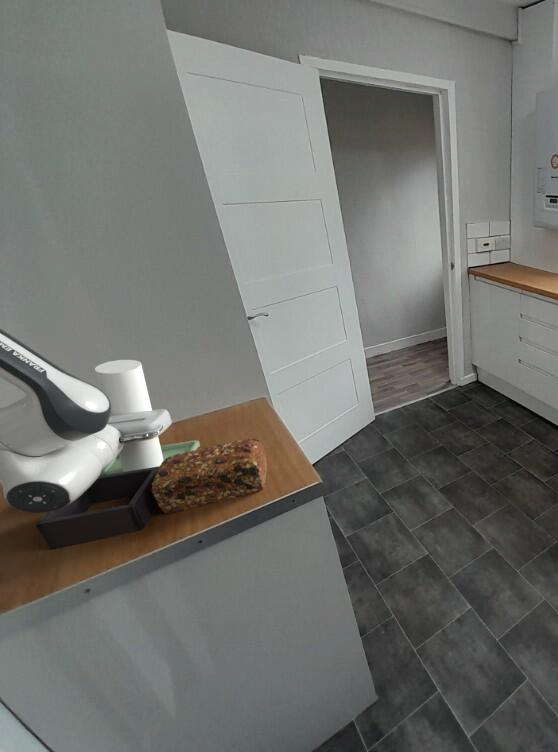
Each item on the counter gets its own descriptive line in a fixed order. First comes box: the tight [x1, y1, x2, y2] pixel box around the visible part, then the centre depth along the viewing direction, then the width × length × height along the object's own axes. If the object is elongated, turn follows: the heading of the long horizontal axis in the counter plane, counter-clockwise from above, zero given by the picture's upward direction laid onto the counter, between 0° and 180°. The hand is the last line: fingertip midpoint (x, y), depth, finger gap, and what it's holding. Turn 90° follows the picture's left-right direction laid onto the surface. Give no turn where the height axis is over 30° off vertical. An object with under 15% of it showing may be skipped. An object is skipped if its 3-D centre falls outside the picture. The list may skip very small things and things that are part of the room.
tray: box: [100, 439, 201, 476], centre depth 96 cm, size 17×15×2 cm
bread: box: [152, 438, 268, 515], centre depth 88 cm, size 19×11×10 cm, turn 113°
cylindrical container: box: [94, 359, 163, 472], centre depth 90 cm, size 7×7×25 cm
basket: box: [35, 466, 160, 550], centre depth 82 cm, size 14×13×6 cm
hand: (125, 411), depth 91 cm, fingers closed on cylindrical container, 4 cm apart
